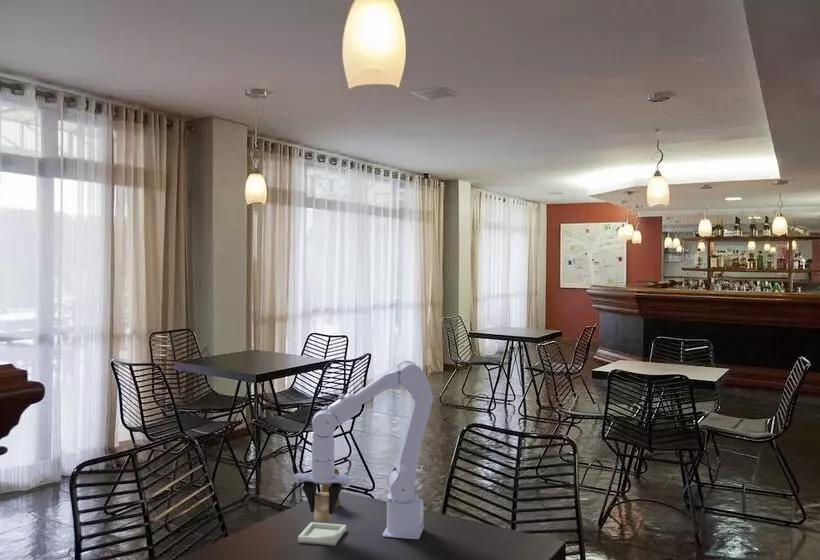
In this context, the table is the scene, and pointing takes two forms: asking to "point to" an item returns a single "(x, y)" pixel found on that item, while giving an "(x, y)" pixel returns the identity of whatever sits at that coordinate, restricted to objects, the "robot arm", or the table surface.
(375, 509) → the table surface
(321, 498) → the beech cylinder
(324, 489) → the olive tapered cylinder
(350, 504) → the table surface
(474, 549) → the table surface
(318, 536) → the sage tray
